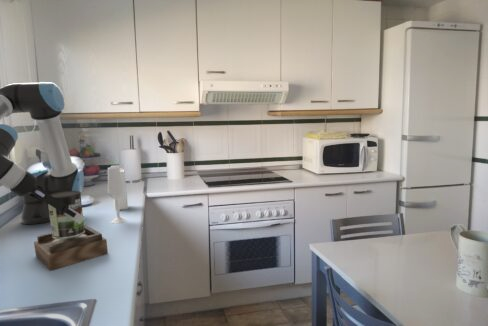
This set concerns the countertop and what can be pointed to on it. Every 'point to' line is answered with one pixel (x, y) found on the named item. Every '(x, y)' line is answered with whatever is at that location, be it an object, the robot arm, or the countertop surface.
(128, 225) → the countertop surface
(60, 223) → the coffee can
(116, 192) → the champagne flute
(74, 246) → the display stand
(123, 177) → the milk
